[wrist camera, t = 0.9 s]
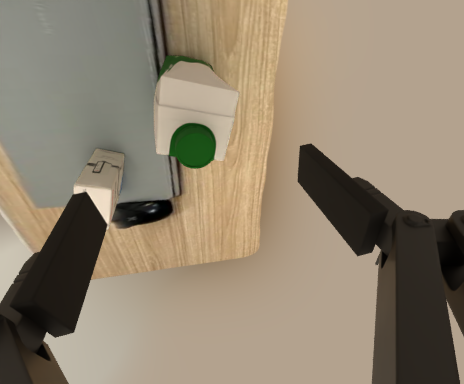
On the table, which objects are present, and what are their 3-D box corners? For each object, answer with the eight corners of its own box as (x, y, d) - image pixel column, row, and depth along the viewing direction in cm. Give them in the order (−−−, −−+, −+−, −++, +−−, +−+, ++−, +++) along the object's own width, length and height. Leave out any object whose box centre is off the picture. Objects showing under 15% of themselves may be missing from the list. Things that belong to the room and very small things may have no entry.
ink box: (121, 190, 47) (109, 232, 37) (93, 186, 45) (74, 229, 36) (125, 152, 42) (112, 190, 33) (94, 146, 40) (72, 184, 31)
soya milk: (157, 107, 39) (148, 167, 23) (160, 45, 34) (152, 69, 18) (208, 116, 41) (231, 175, 26) (218, 59, 37) (254, 91, 21)
